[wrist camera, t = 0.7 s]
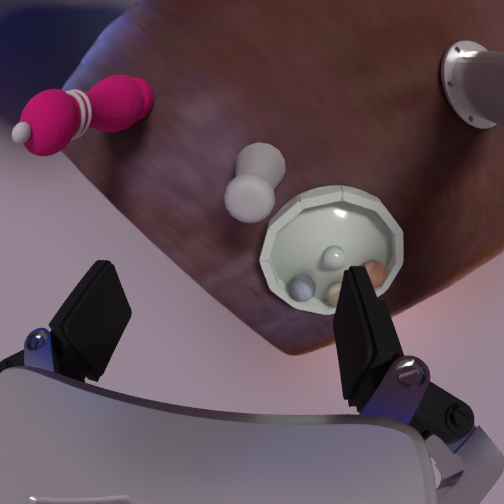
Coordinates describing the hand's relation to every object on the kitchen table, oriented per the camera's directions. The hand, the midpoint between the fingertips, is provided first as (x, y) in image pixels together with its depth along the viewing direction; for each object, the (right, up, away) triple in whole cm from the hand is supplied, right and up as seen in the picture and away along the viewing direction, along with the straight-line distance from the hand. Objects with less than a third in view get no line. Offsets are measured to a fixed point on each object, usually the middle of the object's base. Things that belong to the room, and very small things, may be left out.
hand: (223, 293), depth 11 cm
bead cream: (+14, -3, +30) cm, 33 cm away
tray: (+13, +2, +28) cm, 31 cm away
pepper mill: (-14, +22, +19) cm, 32 cm away
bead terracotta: (+17, -1, +27) cm, 32 cm away
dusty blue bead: (+10, -3, +29) cm, 31 cm away
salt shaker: (+2, +13, +22) cm, 26 cm away
